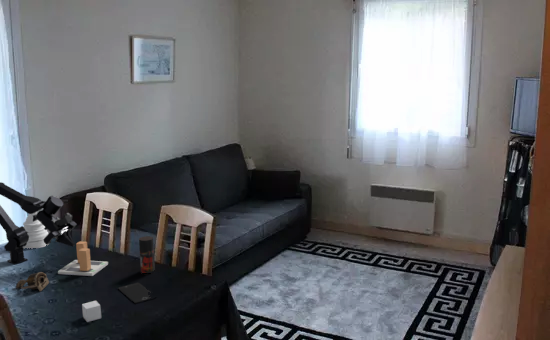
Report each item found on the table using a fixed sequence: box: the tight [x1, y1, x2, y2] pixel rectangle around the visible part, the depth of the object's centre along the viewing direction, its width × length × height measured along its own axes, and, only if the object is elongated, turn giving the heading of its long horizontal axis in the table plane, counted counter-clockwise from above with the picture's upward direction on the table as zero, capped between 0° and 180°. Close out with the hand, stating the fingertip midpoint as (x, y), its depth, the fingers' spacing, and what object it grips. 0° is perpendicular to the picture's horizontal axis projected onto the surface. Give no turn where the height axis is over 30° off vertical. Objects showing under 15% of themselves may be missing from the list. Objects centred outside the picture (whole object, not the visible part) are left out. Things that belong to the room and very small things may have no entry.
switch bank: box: [57, 259, 109, 277], centre depth 239 cm, size 16×14×1 cm
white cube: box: [81, 300, 102, 323], centre depth 192 cm, size 5×5×5 cm
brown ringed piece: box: [15, 271, 50, 292], centre depth 218 cm, size 7×13×10 cm
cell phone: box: [117, 282, 152, 305], centre depth 213 cm, size 9×18×1 cm, turn 37°
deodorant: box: [138, 235, 156, 274], centre depth 234 cm, size 6×6×15 cm
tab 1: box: [75, 240, 88, 263], centre depth 242 cm, size 4×3×9 cm
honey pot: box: [22, 211, 50, 250], centre depth 271 cm, size 13×13×18 cm
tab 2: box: [78, 248, 92, 271], centre depth 233 cm, size 4×3×9 cm
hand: (74, 245), depth 242 cm, fingers closed
